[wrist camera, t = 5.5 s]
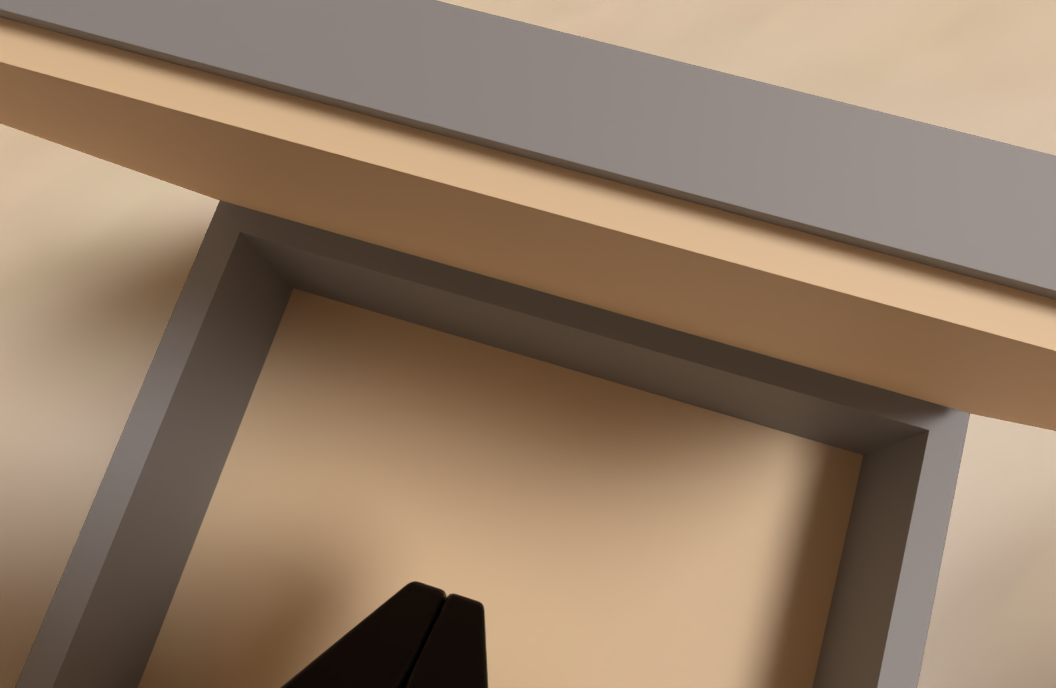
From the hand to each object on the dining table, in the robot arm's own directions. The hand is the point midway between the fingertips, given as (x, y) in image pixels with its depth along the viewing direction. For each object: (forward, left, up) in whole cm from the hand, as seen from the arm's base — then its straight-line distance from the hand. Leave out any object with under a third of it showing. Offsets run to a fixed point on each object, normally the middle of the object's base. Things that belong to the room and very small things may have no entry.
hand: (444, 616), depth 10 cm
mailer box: (0, 0, -9) cm, 9 cm away
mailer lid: (+3, -3, +1) cm, 4 cm away
